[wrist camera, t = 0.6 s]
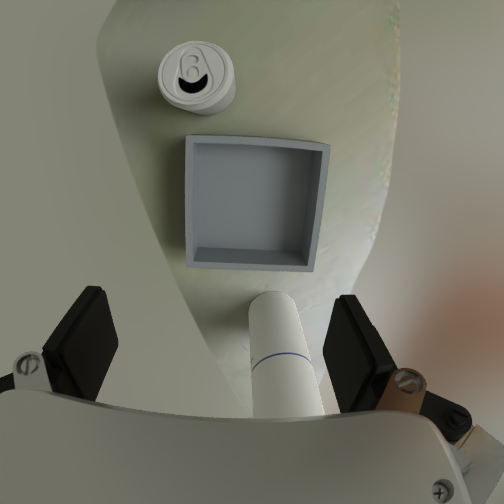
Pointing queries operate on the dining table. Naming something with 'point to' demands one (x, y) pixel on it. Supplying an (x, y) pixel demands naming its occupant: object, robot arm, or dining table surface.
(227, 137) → the box
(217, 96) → the beverage can
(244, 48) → the dining table surface
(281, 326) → the cylindrical container
